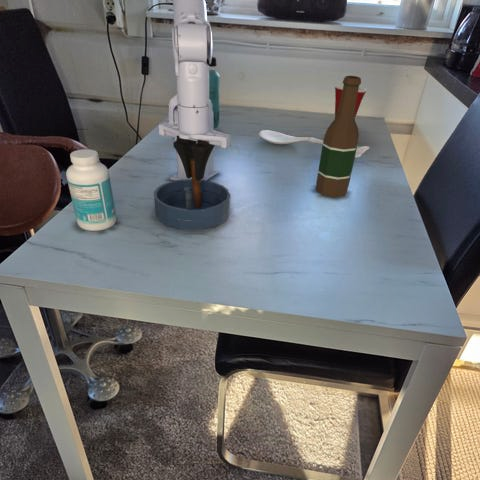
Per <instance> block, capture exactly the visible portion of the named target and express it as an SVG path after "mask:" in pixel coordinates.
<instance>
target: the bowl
mask: <svg viewBox="0 0 480 480" xmlns="http://www.w3.org/2000/svg"><path fill="white" fill-rule="evenodd" d="M200 189H201V203H202V206H201V207H195V206H194V198H193V187H192V179H182V180H176V181H175V180H172V181H168V182H165V183H163V184H161V185H159V186H157V187H156V189H155V190H154V192H153V201H154V213H155V217H156V219H158V221H159V222H161V223H162V224H164V225H166V226H168V227H172V228H175V229H182V230H193V231H194V230H205V229H210V228H215V227H217V226H220V225H222V224H224V223H225V222H226V221H227V220H228V219H229V218H230V215H231V199H232V198H231V197H232V195H231V192H230V190H229V189H228V188H226V187H225V186H224V185H223V184H220V183H218V182H215V181H211V180H200Z"/></svg>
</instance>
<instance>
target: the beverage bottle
mask: <svg viewBox="0 0 480 480" xmlns="http://www.w3.org/2000/svg"><path fill="white" fill-rule="evenodd" d="M207 64H208V65H209V68H212V67H213V68H214V67H217V65H218V64H217V57H215V56H212V59H211V64H209V60H208V58H207ZM220 78H221V75H220V74H219V73H218V71H217V70H215V69H209V99H210V100H211V103H212V111H213V123H214V129H217V128H219V126H220V125H219V124H220V103H221V101H220V96H221V95H220Z"/></svg>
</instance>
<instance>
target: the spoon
mask: <svg viewBox="0 0 480 480" xmlns="http://www.w3.org/2000/svg"><path fill="white" fill-rule="evenodd" d="M258 135H259V138H261V139H262V140H264V141H266V142H267V143H271V144H274V145H282V146H283V145H290V144H293V143H294V144H295V143H298V142H309V143H312V144H319V145H321V146H322V145H323V140H324V139H318V138H316V137H310V136H302V137H301V136H300V137H297V136H293V135H289V134H285V133H282V132H279V131H275V130H269V129H262V130H260V131H259V133H258ZM369 149H370V147H369V146H368V145H363V146H357V149H356V154H355V159H359V158H360V157H361V156H362V155H363V154H364V153H365V152H366V151H367V150H369Z"/></svg>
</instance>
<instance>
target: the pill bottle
mask: <svg viewBox="0 0 480 480" xmlns="http://www.w3.org/2000/svg"><path fill="white" fill-rule="evenodd" d="M69 157H70V162H71V163H72V164H71V165H69V166H68V167H67V170H66V173H65V176H66V180H67V184H68V185H67V186H68V189H69V193H70V198H71V202H72V207H73V211H74V215H75V219H76V223H77V225H78V227H80V228H81V229H83V230H85V231H89V232H91V231H92V232H98V231H99V232H100V231H104V230H107V229H110V228H112V227H113V226H114V225H115V223H116V222H117V214H116V213H117V212H116V207H115V200H114V196H113V195H114V194H113V190H112V183H111V177H110V172H109V169H108V167H107V165H105V164H103V163H102V162H99V160H100V157H99V153H98V151H97V150H94V149H84V148H83V149H78V150H77V149H76V150H74V151H72V152H71V153H70V154H69Z"/></svg>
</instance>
